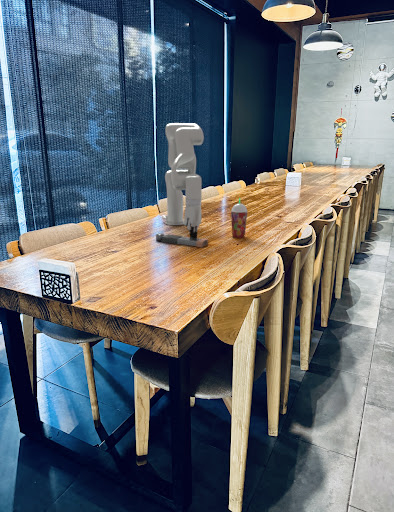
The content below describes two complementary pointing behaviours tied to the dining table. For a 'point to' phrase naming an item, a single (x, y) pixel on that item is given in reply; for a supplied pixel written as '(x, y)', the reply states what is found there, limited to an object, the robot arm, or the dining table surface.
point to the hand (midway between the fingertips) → (193, 239)
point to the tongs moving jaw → (159, 237)
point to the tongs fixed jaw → (183, 241)
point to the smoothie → (238, 220)
